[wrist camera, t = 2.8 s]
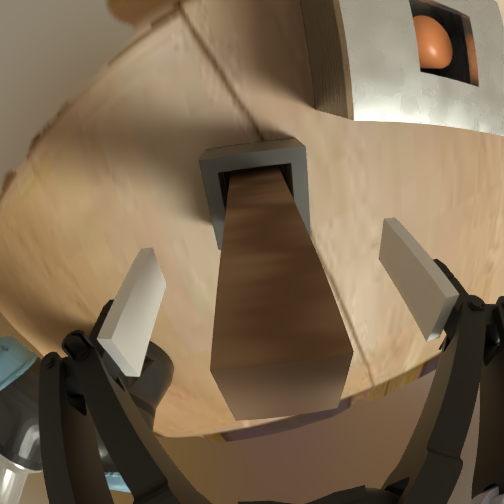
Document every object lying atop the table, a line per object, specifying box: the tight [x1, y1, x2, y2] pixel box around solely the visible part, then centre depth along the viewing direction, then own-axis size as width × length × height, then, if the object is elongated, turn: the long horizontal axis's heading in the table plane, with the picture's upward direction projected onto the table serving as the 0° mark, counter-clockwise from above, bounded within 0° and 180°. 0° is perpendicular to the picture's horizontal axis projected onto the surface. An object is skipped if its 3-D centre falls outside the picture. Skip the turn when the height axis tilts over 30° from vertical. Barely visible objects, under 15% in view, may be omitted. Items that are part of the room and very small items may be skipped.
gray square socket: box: [199, 138, 310, 250], centre depth 23 cm, size 8×8×4 cm
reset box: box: [300, 0, 504, 136], centre depth 13 cm, size 16×13×9 cm
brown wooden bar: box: [210, 165, 354, 421], centre depth 16 cm, size 4×4×20 cm
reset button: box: [413, 15, 453, 68], centre depth 13 cm, size 4×4×4 cm
